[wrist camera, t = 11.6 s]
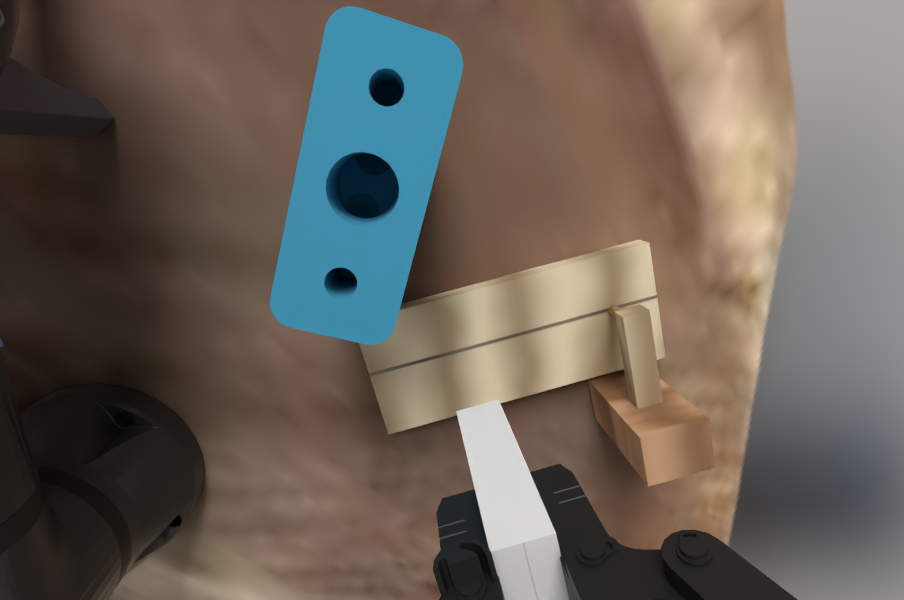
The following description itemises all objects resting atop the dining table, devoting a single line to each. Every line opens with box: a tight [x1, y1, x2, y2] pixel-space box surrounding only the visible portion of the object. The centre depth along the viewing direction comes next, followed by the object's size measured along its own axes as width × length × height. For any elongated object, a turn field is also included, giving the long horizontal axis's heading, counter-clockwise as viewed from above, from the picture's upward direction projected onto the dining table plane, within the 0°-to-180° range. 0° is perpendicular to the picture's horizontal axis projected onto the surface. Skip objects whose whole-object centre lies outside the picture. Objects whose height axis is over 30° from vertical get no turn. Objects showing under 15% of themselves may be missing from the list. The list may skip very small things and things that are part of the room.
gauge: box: [588, 304, 715, 487], centre depth 40 cm, size 5×12×10 cm, turn 14°
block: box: [270, 6, 463, 345], centre depth 29 cm, size 12×5×20 cm, turn 164°
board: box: [359, 240, 665, 434], centre depth 42 cm, size 24×10×2 cm, turn 104°
